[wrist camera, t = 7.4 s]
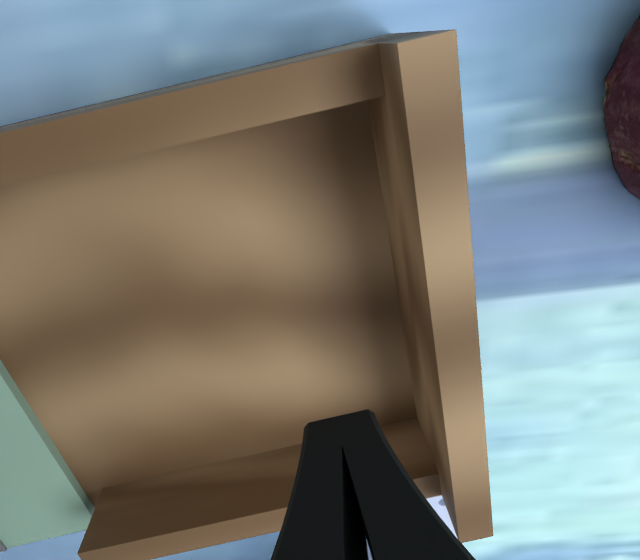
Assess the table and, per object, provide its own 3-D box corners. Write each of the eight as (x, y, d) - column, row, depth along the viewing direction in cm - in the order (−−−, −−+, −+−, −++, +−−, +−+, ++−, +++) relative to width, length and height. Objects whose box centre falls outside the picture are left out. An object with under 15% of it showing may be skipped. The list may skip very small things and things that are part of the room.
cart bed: (440, 416, 22) (493, 536, 17) (103, 491, 22) (49, 633, 17) (390, 33, 15) (456, 28, 10) (-104, 151, 15) (-309, 211, 10)
